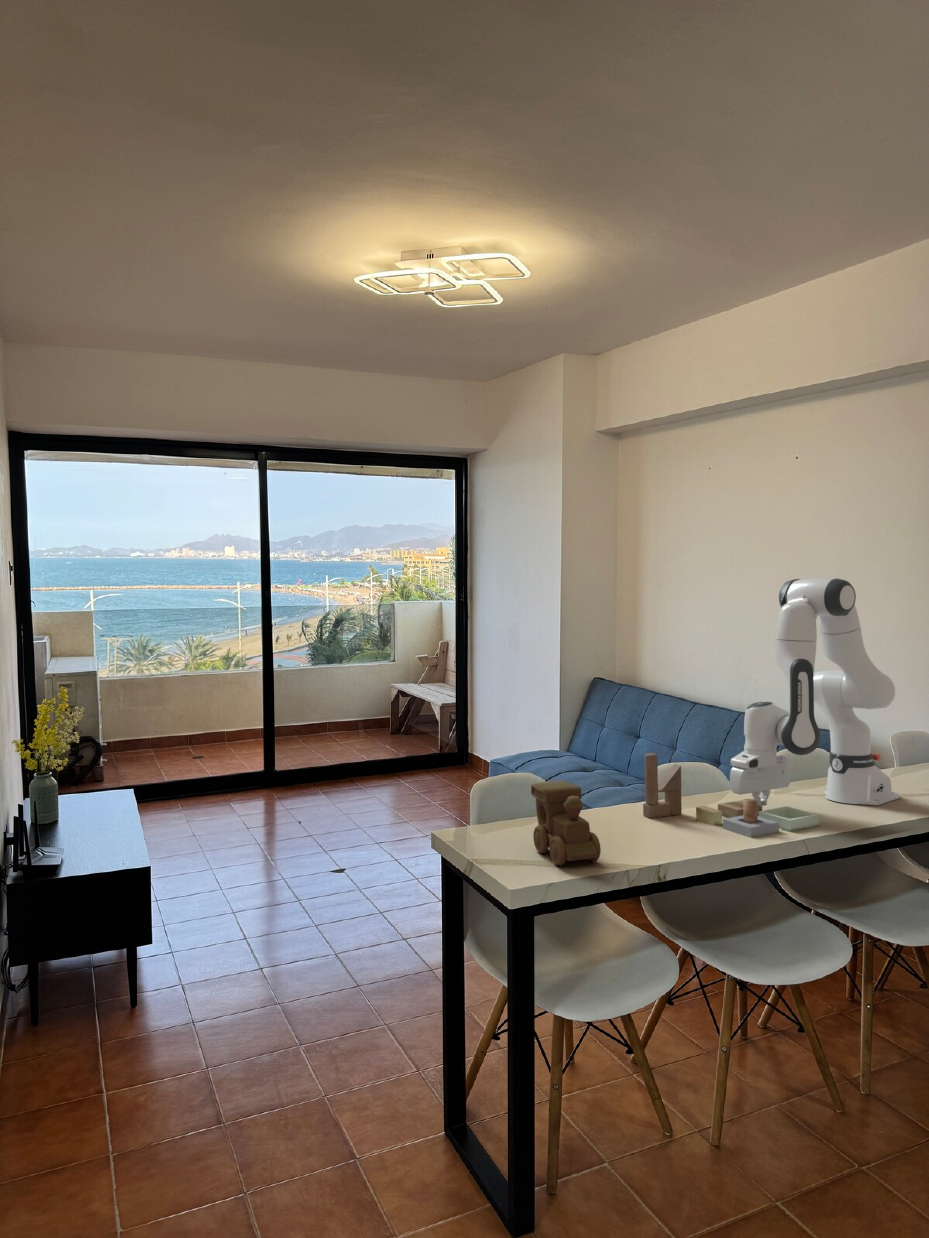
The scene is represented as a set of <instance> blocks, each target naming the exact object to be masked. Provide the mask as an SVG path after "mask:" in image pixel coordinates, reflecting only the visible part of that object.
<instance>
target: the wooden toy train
mask: <svg viewBox="0 0 929 1238" xmlns="http://www.w3.org/2000/svg"><path fill="white" fill-rule="evenodd" d="M530 790H531V792H530V795H531V796H532V797H533V798H535V810H536V818H537V823H538V824H537V825H536V826H535V828H534V830H533V834H532V837H533V844H534V847H535V849H536V851H537V852H538V853H539V852H540V853H539V854H542V853H544V854H545V853H547V852H548V850H549V854H550V858H551V860H552V862H553V863H554V865H555V866H558V865H559V867H562V866H563V865H565V863H566V861H567V862H572V861H579V860H587V859H588V861H590V862H592V861H595V862H597V861H598V860H599V858H600V856H601V843H600V840H599V837H598V835H596V833H594V832H592V831H591V828H590V822H589V821H587V820H586V819H585V818H583V817H582V816H580V814H581V811H582V809H583V806H584V803H583V802H582V788H581V787H579V786H578V785H576V784H574V783H572V782H570V781H567V780H553V781H543V782H536V783H530Z"/></svg>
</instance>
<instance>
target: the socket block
mask: <svg viewBox="0 0 929 1238" xmlns="http://www.w3.org/2000/svg"><path fill="white" fill-rule="evenodd" d="M757 818H758V823H754V824H748V823H745V822H743V815H742V816H737V817H731V818H726V817H725V818H722V829H725V830H727V831H729V832H730V831H731V832H732V833H733V832H734V833H736V834H740V835H743V836H746V837H749V838H755V837H759V836H764V835H769V834H773V833H778V832H779V822H776V821H772V820H769V819H765V818H762V817H759V816H757Z"/></svg>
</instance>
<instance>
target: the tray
mask: <svg viewBox="0 0 929 1238" xmlns="http://www.w3.org/2000/svg"><path fill="white" fill-rule="evenodd" d="M758 815H759V817H762V818H765V819H769V820H772V821H776V822H779V828H781V829H780V830H782V831H786V832H795V830H796V831H800V830H799V829H801V830H804V829H803V828H806V829H810V828H815V826H816V827H820V814H819V813H818V814H817V813H814V812H810V811H806V810H803V809H799V808H796V807H791V806H789V805H787V806H781V807H776V808H769V809H765V810H762V811H758Z"/></svg>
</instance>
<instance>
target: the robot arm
mask: <svg viewBox="0 0 929 1238" xmlns="http://www.w3.org/2000/svg"><path fill="white" fill-rule="evenodd" d="M856 596H857V595H856V590H855V588H854V586H853V585H852V583H850V582H849V581H848V580H845V579H841V578H829V577H828V578H827V577H813V578H802V579H801V578H795V579H791V580H788V581H787V580H786V582H784V583H783V585H782V586H781V588H780V590H779V594H778V602H779V605H780V609H779V613H778V617H777V622H776V628H775V638H774V642H775V643H774V650H775V657H776V662H777V665H778V666H779V667H780V668H781V670H782V671H783V673H784V675H785V677H786V679H787V680H786V681H787V683H788V689H789V693H788V694H789V695H788V696H789V699H788V701H789V702H788V705H789V707H788V708H789V711H788V710H785V709H784V708H781V707H779V706H777V705H776V704H775V703H773V702H772V701H757V702H754V703H752V704H749V705H748V706H747V707H746V709H745V713H744V719H743V720H744V721H743V722H744V723H743V734H744V737H745V738H744V739H745V740H744V741H745V742H744V747H743V751H741V752H740V753H738V754H737V755H735V756H734V757H732V758H731V759H730V765H731V766H732V767H731V769H730V771H729V772H730V773H729V788H730V791H731V792H732V793H733V794H737V795H739V796H740V795H746V794H747V795H748V794H751V795H752V797H753V798H752V799H755V800H757V805H760V806H762V807H765V806H767V805H768V799H769V796H770V794H771V790H778V789H784V788H789V786H790V784H791V776H790V775H791V774H790V770H789V769H790V768H789V765H788V759H787V758H786V757H785V756H784V755H778V754H777V747H778V746H784V748H785V749H786V750H787V751H788V752H789V753H791V754H793V755H796V756H806V755H809V754H811V753H812V752H814V751H815V750H816V749H817V747H818V746H819V745H820V742H821V731H820V728H819V726H818V724H817V722H816V718H815V703H816V704H817V706H818V707H820V709H821V710H822V712H823V713H824V715H825V717H826V721H827V723H828V724H827V725H828V727H829V738H830V751H829V755H828V759H829V760H828V762H829V764H830V767H828V769H827V779H826V780H827V781H826V789H824V791H823V792H824V795H825V798H826V799H827V800H830V801H834V802H836V803H841V804H850V805H869V806H881V805H883V804H887V803H889V802H892V801H895V800H897V799H900V798H901V794H900V793H898V792H896V791H893V789H892V783H891V778H890V777H889V776H888V774H886V773H885V772H883V771H882V770H881V769H880V768H879V767H877V765H876V762H875V761H877V762H879V761H880V760H881V757H882V756H881V754H880V753H874V752H873V753H871V751H872V750H871V748H872V747H871V744H872V742H871V738H872V737H871V729H870V727H869V725H868V724H867V723H866V722H864V721H863V720H862V719H860V718H859V717H858V716H857V715H856V714H855V711H854V709H865V710H876V709H885V708H887V707H890V705H891V704H892V703H893V701H894V699H895V697H896V687H895V684H894V682H893V680H892V678H890V677H889V676H888V675H887V674H885V673H883V672H882V670H879V668H878V667H876V665H875V664H874V663H873V661H872V660H871V658H870V656H869V655H868V653H867V651H866V648H865V643H864V639H863V635H862V629H861V622H860V617H859V615H858V610H857V607H856V605H855V604H856V600H857V599H856V598H857V597H856ZM817 618H818V622H819V630H820V637H821V642H822V643H821V644H822V647H823V648H822V649H823V655H825V657H826V658H827V660H828V661H831V662H832V663H833V664H836V665H837V666H838V668H840V669H841V670H839V669H838V670H837V669H827V670H821V671H815V662H816V657H817V655H816V654H817V653H816V652H817V643H818V642H817V639H818V638H817V637H818V636H817ZM853 708H854V709H853Z"/></svg>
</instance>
